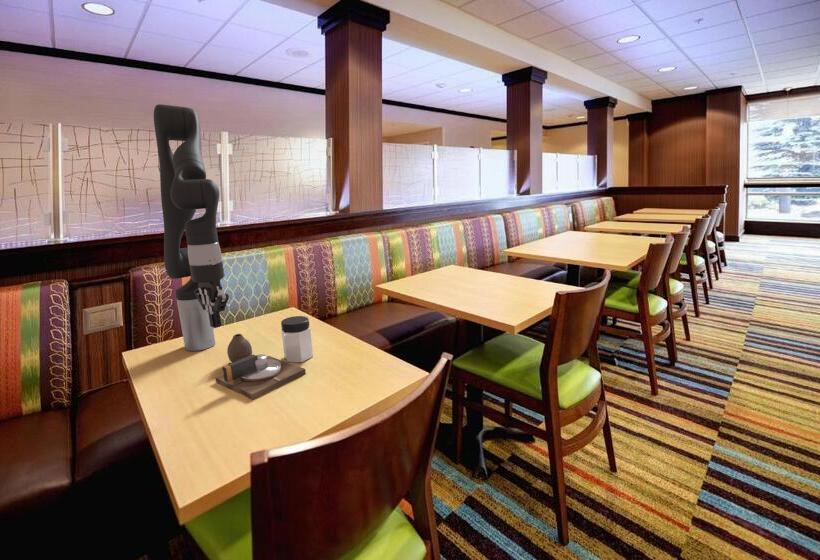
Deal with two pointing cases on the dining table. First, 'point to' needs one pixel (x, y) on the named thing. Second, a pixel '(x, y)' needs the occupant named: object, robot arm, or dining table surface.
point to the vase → (239, 348)
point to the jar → (296, 339)
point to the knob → (252, 369)
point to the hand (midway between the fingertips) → (216, 326)
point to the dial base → (262, 387)
